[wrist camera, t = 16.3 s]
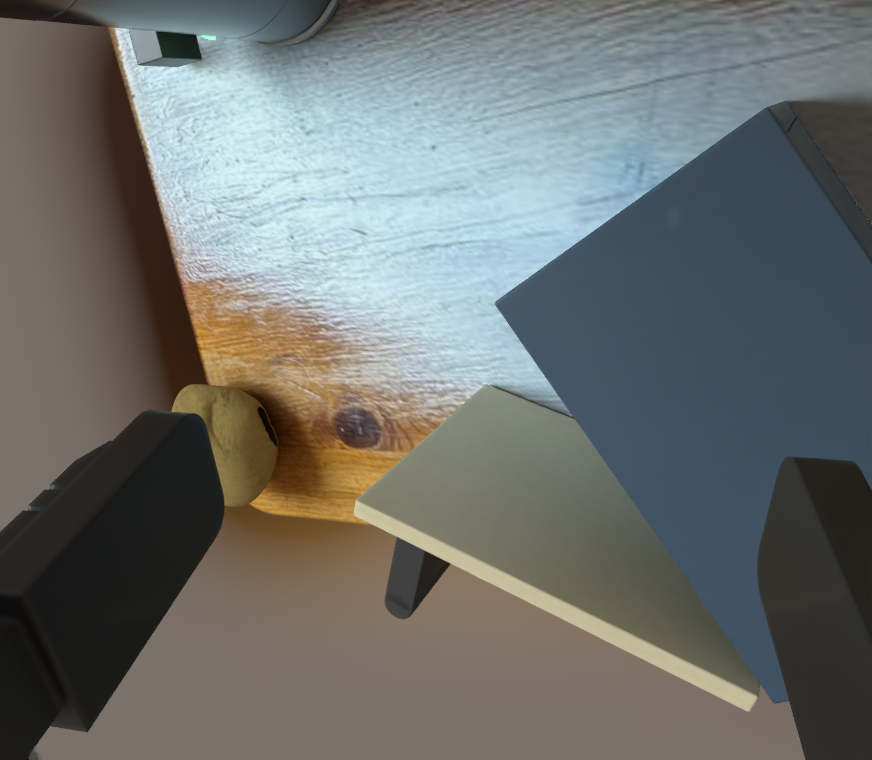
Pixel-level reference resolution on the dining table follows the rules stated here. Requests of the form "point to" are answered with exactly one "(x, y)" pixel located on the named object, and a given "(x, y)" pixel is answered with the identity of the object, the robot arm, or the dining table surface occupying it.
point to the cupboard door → (546, 537)
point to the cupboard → (716, 351)
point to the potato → (234, 438)
